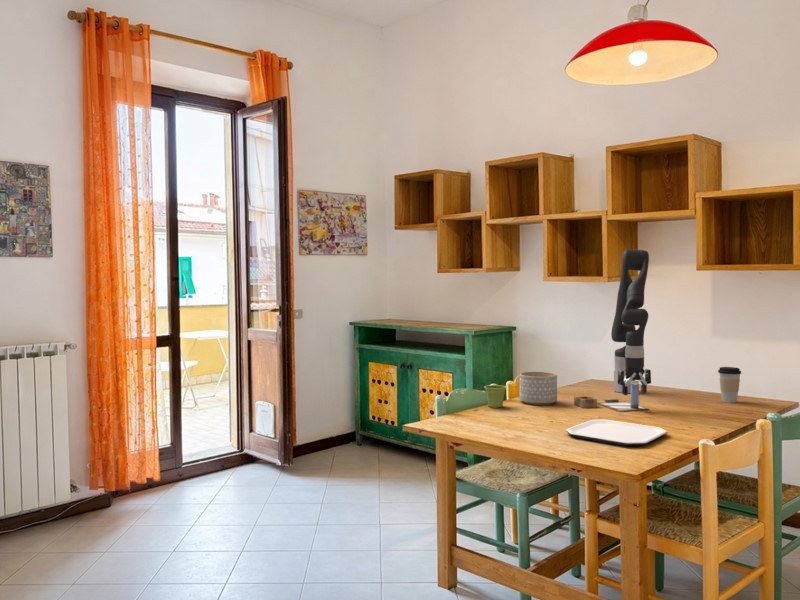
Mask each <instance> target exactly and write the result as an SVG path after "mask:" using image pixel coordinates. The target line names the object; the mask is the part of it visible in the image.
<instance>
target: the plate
mask: <svg viewBox="0 0 800 600" xmlns="http://www.w3.org/2000/svg"><path fill="white" fill-rule="evenodd" d="M565 432H567V433H568V434H569V435H570V436H573V437H575V438H578V439H583V440H588V441H593V442H594V441H595V442H601V443H606V444H610V445H611V444H612V445H616V446H617V445H618V446H624V447H639V446H643V445H646V444H649V443H651V442H653V441H654V440H656V439H659V438H660V437H663V436H665V435H667V434H669V433H668V431H667V430H665V429H664V428H661V427H659V426H653V425H646V424H645V425H644V424H640V423H639V424H638V423H633V422H625V421H620V420H612V419H590V420H586V421H585V422H582V423H579V424H576V425H574V426H571V427H568V428H566V429H565Z"/></svg>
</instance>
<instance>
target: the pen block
mask: <svg viewBox="0 0 800 600" xmlns="http://www.w3.org/2000/svg"><path fill="white" fill-rule="evenodd" d="M597 403H598V399H597V398H596V397H593V396H589V395H588V396H587V395H586V396H574V397H573V405H574V406H576V407H579V408H581V409H582V408H583V409H586V408H597V407H598V404H597Z"/></svg>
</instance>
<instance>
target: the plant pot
mask: <svg viewBox="0 0 800 600" xmlns="http://www.w3.org/2000/svg"><path fill="white" fill-rule="evenodd" d="M506 389H507V385H500V384H499V385H498V384H490V385H489V384H488V385H485V386H484V390H485V393H486V399H487V400H486V401H487V406H488V407H490V408H492V409H493V408H502V407H504V406H503V405H504V398H505V392H506Z"/></svg>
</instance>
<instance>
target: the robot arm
mask: <svg viewBox="0 0 800 600" xmlns="http://www.w3.org/2000/svg"><path fill="white" fill-rule="evenodd" d="M621 259H622V261H621V270H620V272H621V273H620V281H619V287H618V291H617V297H616V305H615V306H616V307H615V314H614V319H613V323H612V326H611V327H612V328H611V334H610V335H611V339H612V341H613V342H614V343H625V345H624V346H622V347H619V348H617V349H615V350H614V371H613V391H614V392H617V393H621V394H622V395H623V396H628V394H631V384H630V382H631V381H639V383H640V384H641V386H640V387H641V389H640V390H641V391H640V392H641V393H640V394H641V395H646V393H647V392H648V391H647V390H648V387H647V385H650V384H652V372H651V369H649V368H648V369H647V368H645V347H644V345H645V344H644V341H645V340H644V339H645V338H644V337H645V331H646V327H647V323H648V320H649V312H648V311H647V310H646V309H645V308H642V307H643V306H644V304H645V288H646V283H647V278H648V270H649V262H650V255H649V251H647V250H643V249H629V248H628V249H625V250H624V251H623V254H622V258H621ZM630 271H638V272H639V273H638V275H637V276H636V277H635V278H634V279H632V277H631V275H630ZM636 326H638V328H637V329H636ZM644 368H645V369H644ZM643 375H644V376H643Z"/></svg>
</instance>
